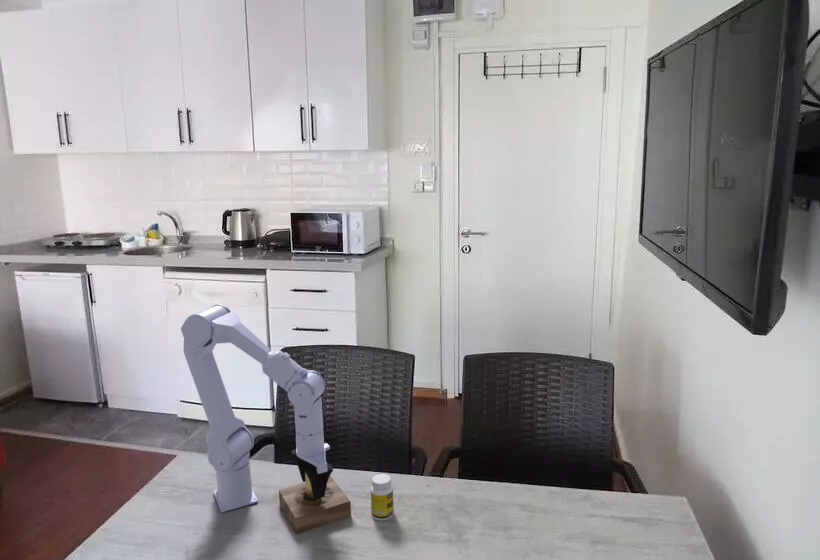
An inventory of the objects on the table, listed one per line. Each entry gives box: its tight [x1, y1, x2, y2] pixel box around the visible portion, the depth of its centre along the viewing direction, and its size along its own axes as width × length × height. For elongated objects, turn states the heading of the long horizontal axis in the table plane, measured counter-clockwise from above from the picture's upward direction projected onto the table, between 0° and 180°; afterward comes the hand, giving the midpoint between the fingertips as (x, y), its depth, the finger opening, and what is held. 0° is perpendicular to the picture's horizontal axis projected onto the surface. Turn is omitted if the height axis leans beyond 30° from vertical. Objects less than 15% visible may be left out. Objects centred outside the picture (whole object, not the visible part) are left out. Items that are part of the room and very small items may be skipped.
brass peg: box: [305, 473, 321, 501], centre depth 129 cm, size 3×3×8 cm
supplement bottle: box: [370, 473, 394, 522], centre depth 127 cm, size 5×5×8 cm
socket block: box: [278, 475, 352, 534], centre depth 130 cm, size 12×12×4 cm
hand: (313, 488), depth 129 cm, fingers open, 7 cm apart
